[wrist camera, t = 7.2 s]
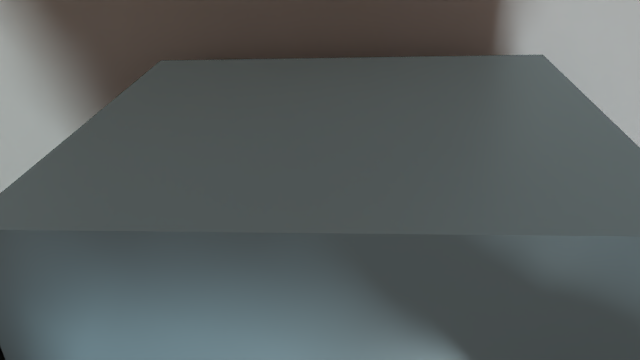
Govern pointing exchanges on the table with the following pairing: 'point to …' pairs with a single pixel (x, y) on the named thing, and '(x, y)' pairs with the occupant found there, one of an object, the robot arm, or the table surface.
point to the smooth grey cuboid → (330, 218)
